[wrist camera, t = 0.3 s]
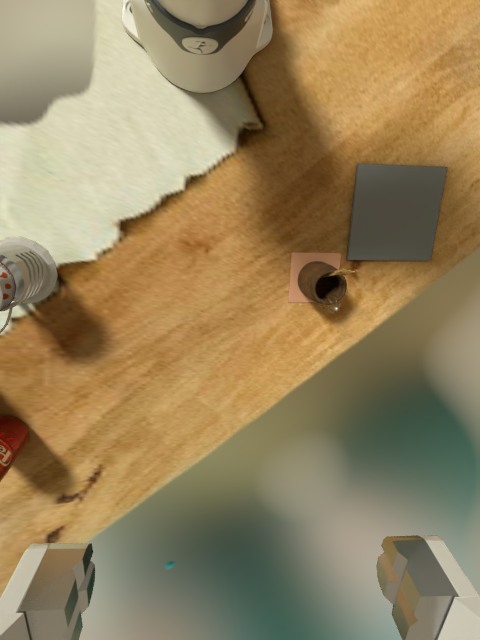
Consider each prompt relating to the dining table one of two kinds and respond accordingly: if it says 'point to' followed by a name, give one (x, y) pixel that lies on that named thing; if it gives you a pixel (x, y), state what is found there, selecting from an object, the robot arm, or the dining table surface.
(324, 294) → the utensil holder
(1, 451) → the soda can
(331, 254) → the pink tile
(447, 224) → the dining table surface
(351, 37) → the dining table surface
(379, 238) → the charcoal mat
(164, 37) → the robot arm
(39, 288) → the french press
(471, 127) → the dining table surface
